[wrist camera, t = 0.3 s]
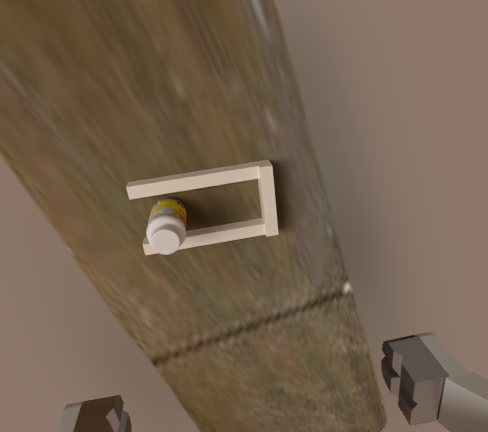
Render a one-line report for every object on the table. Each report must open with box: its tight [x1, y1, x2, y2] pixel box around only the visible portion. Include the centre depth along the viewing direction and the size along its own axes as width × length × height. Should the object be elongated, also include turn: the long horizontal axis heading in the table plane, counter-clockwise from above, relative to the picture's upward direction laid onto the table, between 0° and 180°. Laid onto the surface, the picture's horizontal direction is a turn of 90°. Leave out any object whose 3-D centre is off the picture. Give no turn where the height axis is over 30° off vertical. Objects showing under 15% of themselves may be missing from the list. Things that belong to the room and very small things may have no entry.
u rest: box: [126, 160, 279, 255], centre depth 58 cm, size 12×22×3 cm, turn 97°
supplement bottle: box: [147, 197, 186, 254], centre depth 54 cm, size 6×6×10 cm
